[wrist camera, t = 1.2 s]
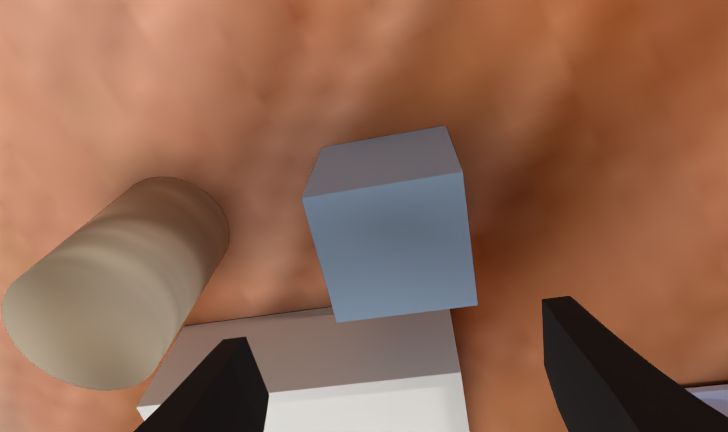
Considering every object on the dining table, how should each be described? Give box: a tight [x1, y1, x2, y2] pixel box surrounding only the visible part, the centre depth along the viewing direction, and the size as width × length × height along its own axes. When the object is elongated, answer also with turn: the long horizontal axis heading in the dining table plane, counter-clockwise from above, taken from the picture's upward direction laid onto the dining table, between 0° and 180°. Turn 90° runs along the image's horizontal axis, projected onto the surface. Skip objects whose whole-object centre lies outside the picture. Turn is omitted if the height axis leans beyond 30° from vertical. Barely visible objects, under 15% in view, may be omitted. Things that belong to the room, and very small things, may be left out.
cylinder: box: [2, 177, 229, 391], centre depth 18 cm, size 5×5×7 cm
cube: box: [301, 126, 478, 323], centre depth 18 cm, size 5×5×5 cm
